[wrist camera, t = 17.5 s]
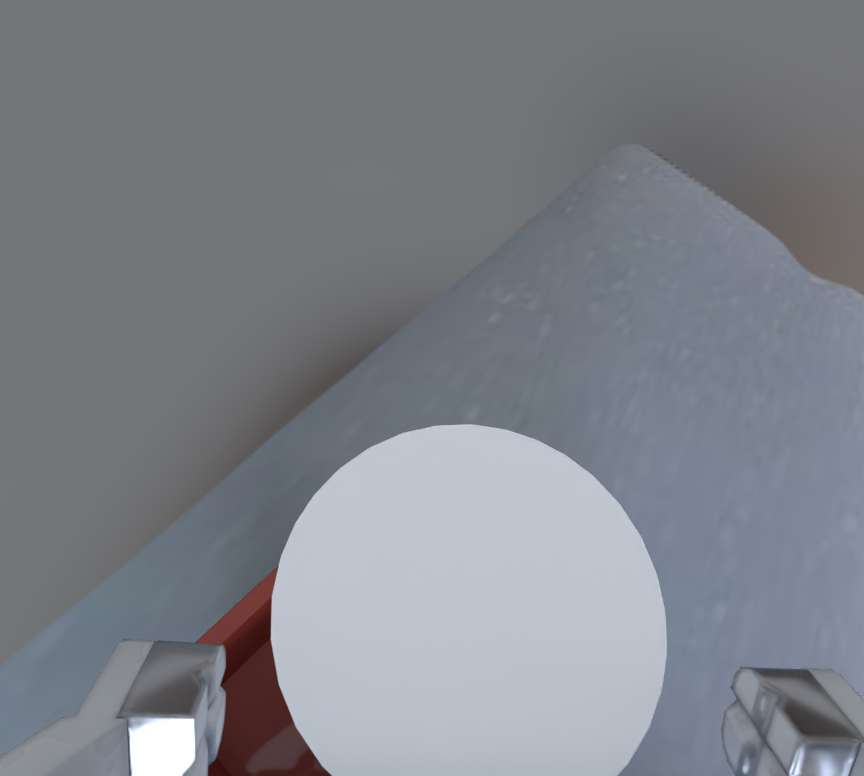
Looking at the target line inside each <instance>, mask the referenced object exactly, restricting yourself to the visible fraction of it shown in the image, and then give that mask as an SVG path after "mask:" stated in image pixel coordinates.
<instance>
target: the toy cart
mask: <svg viewBox="0 0 864 776" xmlns="http://www.w3.org/2000/svg"><path fill="white" fill-rule="evenodd" d="M278 567H279V566H278ZM278 567H277V568H276V569H275V570H273V571H272V572H271V573H270V574H269V575H268V576H267V577H266V578H265V579H264V580H263V581H262V582H260V583H259V584H258V585H257V586H256V587H255V588H254V589H253V590H252V591H251V592H250V593H249V594H247V595H246V596H245V597H244V598H243V599H242V600H241V601H240V602H239V603H238V604H237V605H236V606H234V607H233V608H232V609H231V610H230V611H229V612H228V613H227V614H226V615H225V616H224V617H223V618H221V619H220V620H219V621H218V622H217V623H216V624H215V625H214V626H213V627H212V628H211V629H210V630H208V631H207V632H206V633H205V634H204V635H203V636H202V637H201V638H200V639H199V640H198V641H197V642H195V643H203V644H218V645H224V648H225V652H226V669H225V672H224V675H223V678H222V681H221V684H220V686H221V687H222V688H223V689H224V691H225V692H226V707H225V718H224V726H223V731H222V736H221V742H220V746H219V749H218V753H217V756H216V760H215V761H213V762H212V763H211V764H210V765H209V766H208V776H332V775H331V774H330V773H329V772H328V771H327V770H326V769H325V768H324V767H323V766H322V765H321V764H320V762H319V761H318V759H317V758H316V756H315V755H314V753H313V752H312V750H311V749H310V747H309V746H308V744H307V743H306V741H305V740H304V738H303V737H302V735H301V734H300V732H299V731H298V729H297V728H296V726H295V723H294V721H293V718H292V716H291V713H290V711H289V708H288V706H287V703H286V701H285V699H284V696H283V694H282V691H281V689H280V686H279V683H278V677H277V672H276V666H275V660H274V655H273V649H272V643H271V612H272V593H273V589H274V585H275V580H276V576H277V571H278Z"/></svg>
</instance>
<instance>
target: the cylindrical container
mask: <svg viewBox="0 0 864 776" xmlns="http://www.w3.org/2000/svg"><path fill="white" fill-rule="evenodd" d="M271 643H272V649H273V655H274V660H275V666H276V672H277V677H278V683H279V686H280V689H281V691H282V694H283V696H284V699H285V701H286V703H287V706H288V708H289V711H290V713H291V716H292V718H293V721H294V723H295V726H296V728H297V729H298V731H299V732H300V734H301V735H302V737H303V738H304V740H305V741H306V743H307V744H308V746H309V747H310V749H311V750H312V752H313V753H314V755H315V756H316V758H317V759H318V761H319V762H320V764H321V765H322V766H323V767H324V768H325V769H326V770H327V771H328V772H329V773H330V774H331V775H332V776H617V775H618V774H619V773H620V772H621V771H622V770H623V769H624V768H625V767H626V766H627V764H628V763H629V762H630V760H631V758H632V756H633V755H634V753H635V751H636V749H637V748H638V746H639V744H640V743H641V741H642V739H643V737H644V736H645V734H646V732H647V730H648V729H649V727H650V724H651V721H652V718H653V715H654V712H655V709H656V706H657V703H658V700H659V697H660V694H661V691H662V685H663V678H664V671H665V664H666V657H667V639H666V613H665V609H664V604H663V600H662V595H661V591H660V586H659V582H658V577H657V573H656V571H655V569H654V566H653V564H652V561H651V559H650V557H649V554H648V552H647V550H646V547H645V545H644V542H643V540H642V538H641V536H640V534H639V533H638V531H637V530H636V528H635V527H634V525H633V524H632V522H631V521H630V519H629V518H628V516H627V514H626V513H625V511H624V510H623V508H622V507H621V505H620V504H619V503H618V502H617V501H616V500H615V498H614V497H613V496H612V495H611V494H610V493H609V492H608V491H607V490H606V489H605V488H604V487H603V486H602V485H601V483H600V482H599V481H598V480H597V479H596V478H595V477H594V476H593V475H591V474H590V473H589V472H587V471H586V470H585V469H583V468H582V467H581V466H579V465H578V464H577V463H575V462H574V461H573V460H571V459H570V458H569V457H568V456H566V455H564V454H563V453H561V452H559V451H557V450H555V449H553V448H551V447H549V446H547V445H545V444H544V443H542V442H540V441H538V440H536V439H533V438H530V437H527V436H524V435H521V434H518V433H515V432H512V431H509V430H505V429H499V428H492V427H486V426H479V425H473V424H472V425H437V426H433V427H428V428H424V429H419V430H415V431H410V432H406V433H402V434H400V435H397V436H395V437H393V438H390V439H388V440H386V441H384V442H381V443H379V444H377V445H374V446H372V447H370V448H368V449H367V450H365V451H364V452H362V453H361V454H360V455H358V456H357V457H355V458H354V459H352V460H351V461H350V462H348V463H347V464H345V465H344V466H342V467H341V468H340V469H339V470H338V471H337V472H336V473H335V474H334V475H333V476H332V477H331V478H330V479H329V480H328V481H327V482H326V483H325V484H324V485H323V486H322V487H321V488H320V489H319V490H318V491H317V492H316V493H315V494H314V496H313V497H312V499H311V500H310V502H309V503H308V505H307V506H306V508H305V509H304V511H303V512H302V514H301V515H300V517H299V518H298V520H297V522H296V523H295V525H294V527H293V530H292V532H291V534H290V537H289V539H288V541H287V544H286V546H285V548H284V551H283V553H282V555H281V558H280V562H279V567H278V571H277V576H276V580H275V585H274V589H273V593H272V612H271Z"/></svg>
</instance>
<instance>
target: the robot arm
mask: <svg viewBox="0 0 864 776" xmlns="http://www.w3.org/2000/svg"><path fill="white" fill-rule="evenodd" d="M225 669H226V652H225V648H224V645H218V644H203V643H187V642H172V641H152V640H133V639H124V640H122V641H121V642H120V643H118V644H117V645H116V647H115V649H114V650H113V652H112V654H111V656H110V657H109V659H108V661H107V662H106V664H105V666H104V668H103V669H102V671H101V673H100V674H99V676H98V678H97V679H96V681H95V683H94V685H93V686H92V688H91V690H90V691H89V693H88V695H87V697H86V698H85V700H84V702H83V703H82V705H81V707H80V708H79V710H78V712H77V714H76V715H75V717H63V718H61V719H59V720H58V721H56V722H55V723H53V724H51V725H50V726H48V727H47V728H45V729H43V730H42V731H40V732H39V733H37V734H35V735H34V736H32V737H31V738H29V739H27V740H26V741H24V742H22V743H21V744H19V745H18V746H16V747H14V748H13V749H11V750H10V751H8V752H6V753H5V754H3V755H2V756H0V776H208V766H209V765H210V764H211V763H212V762H213V761H215V760H216V756H217V753H218V749H219V746H220V742H221V736H222V731H223V726H224V718H225V707H226V692H225V691H224V689H223V688H222V687H221V686H220V684H221V681H222V678H223V675H224V672H225ZM731 689H732V690H733V692H734V694H735V696H736V698H737V700H736V701H735V702H734V703H733V704H732V705H731V706H730V707H729V708H728V709H727V710H725V714H724V718H723V723H722V728H721V731H722V743H723V749H724V752H725V755H726V758H727V761H728V763H729V765H730V767H731V769H732V771H733V773H734V774H735V776H864V699H863V698H862V697H861V696H860V695H859V694H858V693H857V692H856V690H855V689H854V688H853V687H852V686H851V685H850V684H849V683H848V681H847V680H846V679H845V678H844V677H843V676H842V675H841V674H840V673H838V672H836V671H835V670H833V669H816V668H801V669H779V668H752V667H740V669H739V670H738V671H737V672H736V674H735V676H734V679H733V683H732V686H731Z"/></svg>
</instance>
